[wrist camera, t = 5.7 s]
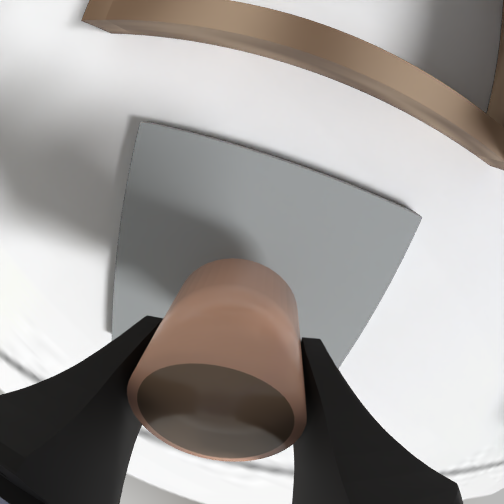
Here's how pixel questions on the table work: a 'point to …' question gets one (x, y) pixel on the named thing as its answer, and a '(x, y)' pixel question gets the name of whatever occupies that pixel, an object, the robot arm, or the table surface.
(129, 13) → the frame
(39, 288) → the table surface
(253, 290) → the clay pot
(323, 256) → the potting mat
